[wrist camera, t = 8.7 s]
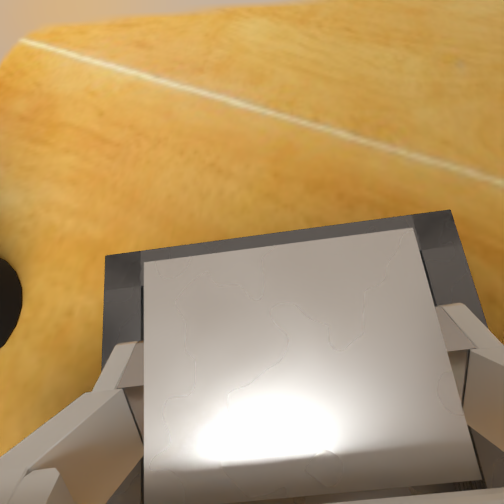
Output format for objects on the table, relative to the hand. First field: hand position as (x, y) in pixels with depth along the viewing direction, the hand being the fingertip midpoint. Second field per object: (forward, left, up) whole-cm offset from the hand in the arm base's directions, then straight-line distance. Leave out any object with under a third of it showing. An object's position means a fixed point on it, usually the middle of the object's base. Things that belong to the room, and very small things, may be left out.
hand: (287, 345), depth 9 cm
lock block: (0, 0, -6) cm, 6 cm away
